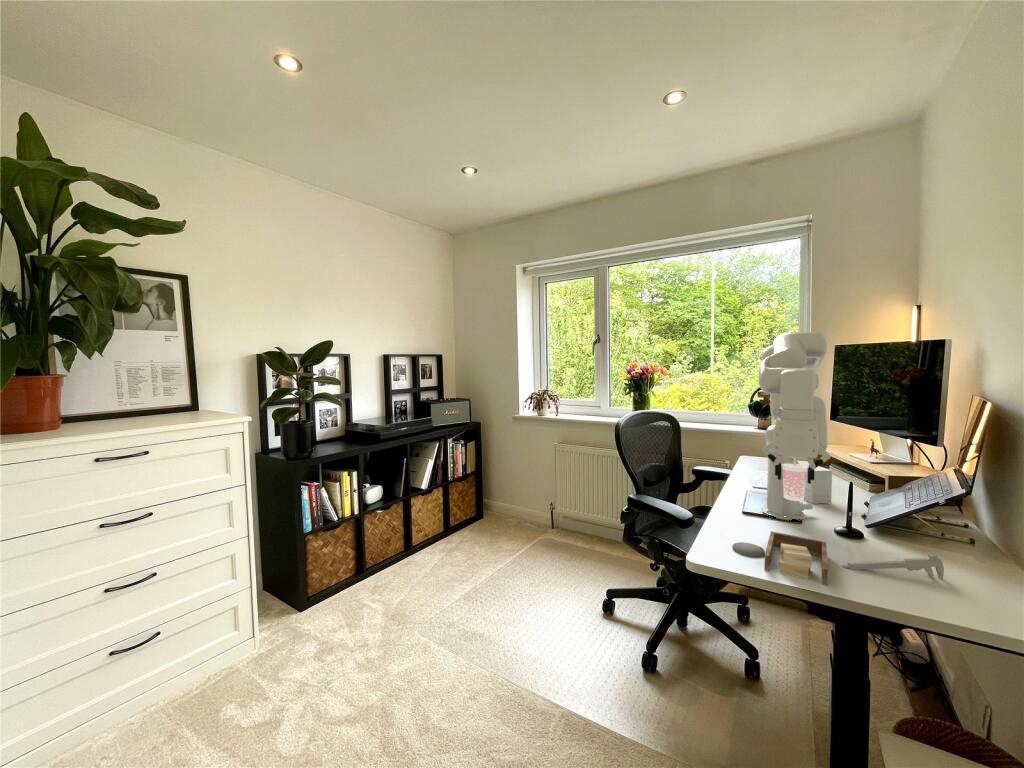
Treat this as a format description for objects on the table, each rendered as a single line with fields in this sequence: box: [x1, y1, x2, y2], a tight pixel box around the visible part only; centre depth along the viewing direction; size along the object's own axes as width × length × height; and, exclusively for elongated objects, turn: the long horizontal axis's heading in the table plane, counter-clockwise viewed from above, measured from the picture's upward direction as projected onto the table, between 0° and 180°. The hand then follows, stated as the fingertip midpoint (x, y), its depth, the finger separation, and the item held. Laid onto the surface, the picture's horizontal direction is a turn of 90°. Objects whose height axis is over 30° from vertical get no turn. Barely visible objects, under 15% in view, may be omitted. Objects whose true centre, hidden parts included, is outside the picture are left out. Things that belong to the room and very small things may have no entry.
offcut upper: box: [780, 543, 812, 569], centre depth 107 cm, size 6×6×3 cm
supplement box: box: [804, 465, 833, 504], centre depth 159 cm, size 7×7×13 cm
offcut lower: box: [779, 557, 811, 580], centre depth 107 cm, size 6×6×3 cm
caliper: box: [842, 553, 945, 580], centre depth 106 cm, size 20×1×6 cm, turn 72°
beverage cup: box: [781, 458, 808, 502], centre depth 114 cm, size 6×6×14 cm
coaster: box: [732, 541, 766, 558], centre depth 119 cm, size 8×8×1 cm
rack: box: [763, 531, 829, 586], centre depth 111 cm, size 18×13×4 cm
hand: (794, 479), depth 114 cm, fingers closed on beverage cup, 6 cm apart
